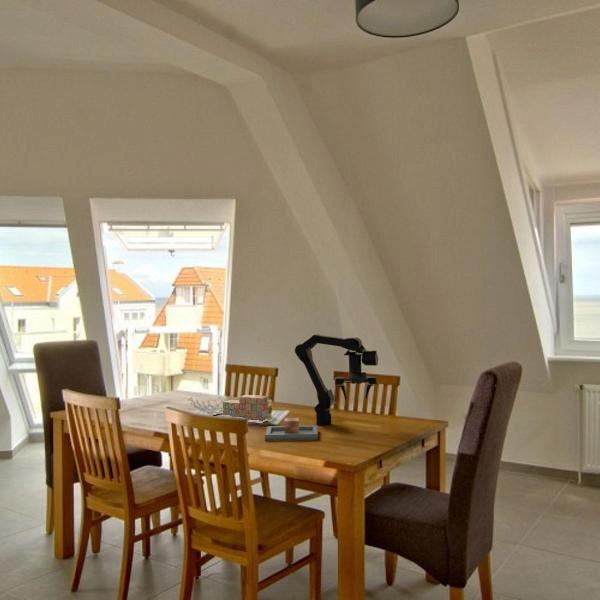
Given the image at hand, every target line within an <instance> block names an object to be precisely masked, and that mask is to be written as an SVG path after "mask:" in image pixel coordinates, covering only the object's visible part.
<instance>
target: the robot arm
mask: <svg viewBox="0 0 600 600" xmlns="http://www.w3.org/2000/svg"><path fill="white" fill-rule="evenodd" d="M317 344H321V345H325V346H326V345H328V346H334V347H340V348H343V349H345V350H347V351H346V352H345V353H344V354H343V355H344V356H348V378H344V376H335V378H334V385H335V386H337V387H340V389H341V391H342V394H343V398H344V400H345V401H346V400H347V393H346V387H345V383H346V384H350V383H351V384H352V385H355V384H358V385H361V384H362V383H365V391H364V392H365V395H364V398H365V400H367V398H368V395H369V392H370V390H371V388H372V387H373V386H374V385H377V384H378V383H377V381H378V380H377V377H375V376H374V375H372V376H369V375H367V371H366V372H363V371H362V364H363V365H364V366H371V367H372V366H374V367H376V366H378V364H379V355H378V350H374V349H373V350H367V349H366V348H365V347H364V345H363V342H362V340H361V338H359V337H336V336H328V335H323V334H322V335H321V334H316V333H315V334H313V335H311V336H310V338H308V339H307V340H305V341H304V342H302V343H300V344H297V345H296V346H295V348H294V353H295V355H296V357H297V358H298V360H300V361H301V362H302V363H303V364H304V366H305V369H306V371H307V373H308V375H309V378H310V380H311V382H312V385H313V386H314V388H315V390H316V395H317V396H316V397H317V402H318V403H317V404H316V406H314V407H313V410H314V412H315V414H316V415H315V417H316V418H315V420H316V421H315V424H316V425H317V426H330V425H331V423H332V413H331V407H332V406H333V405H334V404H335V401H336V399H335V397H336V396H335V395H334V394H333V391H332V389H331V388H330V389H328V388H327V387H326V386H325V385H326V384H325V383H324V381H323V379H322V377H321V375H320V372H319V371H318V368H317V365H316V364H315V362H314V359H313V352H312V349H313V348H314V347H315V346H317Z"/></svg>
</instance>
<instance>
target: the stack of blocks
mask: <svg viewBox="0 0 600 600" xmlns="http://www.w3.org/2000/svg"><path fill="white" fill-rule="evenodd" d="M268 397H269V396H268V395H259V394H255V395H253V394H244V395H240V396H238V399H239V400H233V399H227V400H226V401H223V402H222V407H223V414H222V416H223V415H230V416H232V417H243V418H247V419H248V420H249V419H251V420H259V421H263V420H265V419H266V418H267V417H268V416H269V412H268V411H269V410H268V407H269V406H268V405H269V404H268V402H269V401H268V400H269V399H268ZM268 418H269V417H268Z"/></svg>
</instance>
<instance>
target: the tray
mask: <svg viewBox="0 0 600 600" xmlns="http://www.w3.org/2000/svg"><path fill="white" fill-rule="evenodd" d="M265 440H292V441H318V440H319V431H318V425H315V424H314V425H313V424H312V425H299V433H285V429H284V425H278V426H277V425H273V426H272V425H270V426H266V430H265V433H264V441H265Z"/></svg>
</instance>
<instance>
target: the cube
mask: <svg viewBox="0 0 600 600" xmlns="http://www.w3.org/2000/svg"><path fill="white" fill-rule="evenodd" d="M299 422H300V420H299V417H288V418H287V417H284V423H283V424H284V425H283V426H284V429H285V433H299V426H300V423H299Z"/></svg>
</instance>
